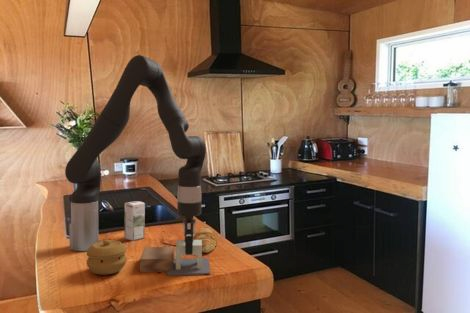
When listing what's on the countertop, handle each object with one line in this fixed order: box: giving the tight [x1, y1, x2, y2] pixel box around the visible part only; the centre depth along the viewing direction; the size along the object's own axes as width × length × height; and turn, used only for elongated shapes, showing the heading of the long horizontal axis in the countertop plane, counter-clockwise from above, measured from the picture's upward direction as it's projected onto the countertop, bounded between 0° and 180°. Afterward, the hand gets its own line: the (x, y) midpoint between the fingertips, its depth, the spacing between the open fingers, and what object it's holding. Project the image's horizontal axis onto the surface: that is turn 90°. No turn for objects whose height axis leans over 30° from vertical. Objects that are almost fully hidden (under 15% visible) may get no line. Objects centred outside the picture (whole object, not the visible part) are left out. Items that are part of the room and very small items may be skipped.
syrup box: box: [123, 200, 146, 242], centre depth 154 cm, size 6×6×14 cm
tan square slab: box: [139, 246, 176, 273], centre depth 126 cm, size 10×12×4 cm
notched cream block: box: [175, 239, 203, 269], centre depth 123 cm, size 6×8×8 cm
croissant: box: [193, 227, 218, 254], centre depth 146 cm, size 21×10×8 cm, turn 11°
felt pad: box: [166, 257, 211, 277], centre depth 124 cm, size 13×13×1 cm
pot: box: [86, 239, 128, 276], centre depth 119 cm, size 12×12×10 cm
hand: (189, 249), depth 123 cm, fingers open, 8 cm apart
